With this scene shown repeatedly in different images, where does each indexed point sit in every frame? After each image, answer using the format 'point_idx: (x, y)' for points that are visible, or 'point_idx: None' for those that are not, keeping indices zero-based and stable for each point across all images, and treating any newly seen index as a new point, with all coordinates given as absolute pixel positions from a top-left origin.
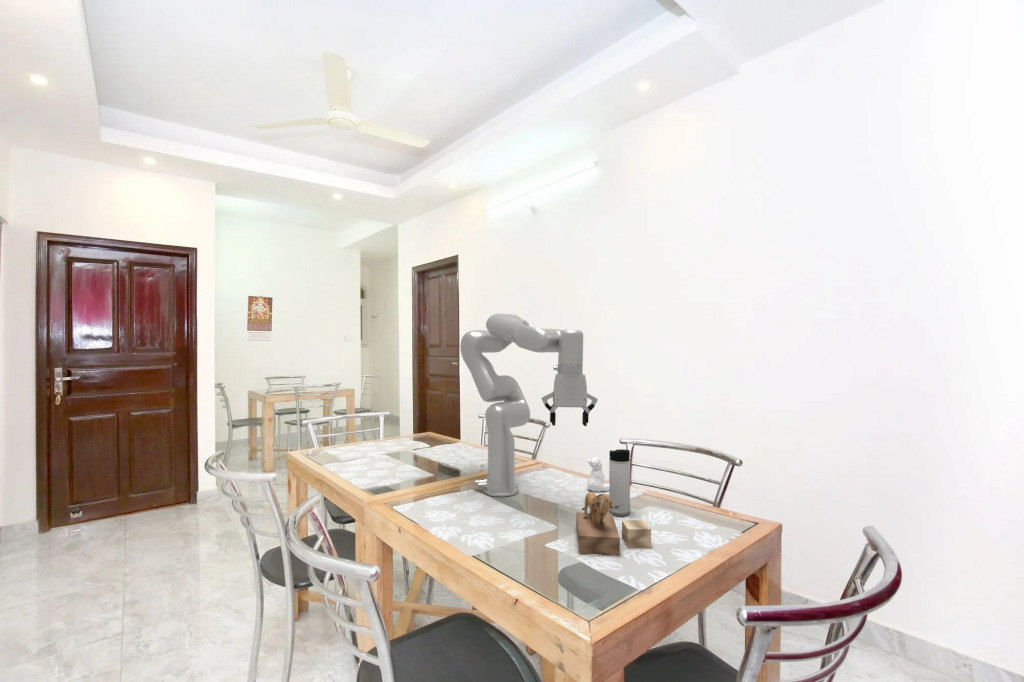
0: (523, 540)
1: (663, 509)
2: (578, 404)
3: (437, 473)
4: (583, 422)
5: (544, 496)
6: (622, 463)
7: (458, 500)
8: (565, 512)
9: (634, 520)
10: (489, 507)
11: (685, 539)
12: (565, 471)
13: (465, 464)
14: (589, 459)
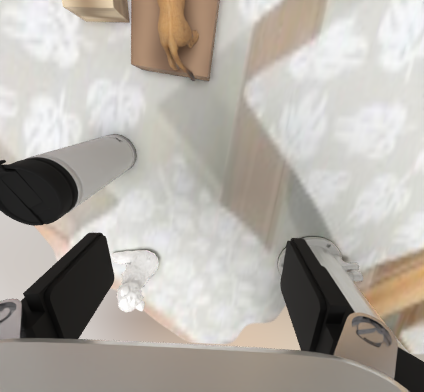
0: (324, 19)
1: None
2: (20, 377)
3: None
4: (101, 264)
5: (238, 236)
6: (41, 156)
7: (392, 226)
8: (215, 161)
9: (84, 4)
10: (346, 191)
11: (5, 10)
12: (183, 335)
13: None
14: (139, 309)
